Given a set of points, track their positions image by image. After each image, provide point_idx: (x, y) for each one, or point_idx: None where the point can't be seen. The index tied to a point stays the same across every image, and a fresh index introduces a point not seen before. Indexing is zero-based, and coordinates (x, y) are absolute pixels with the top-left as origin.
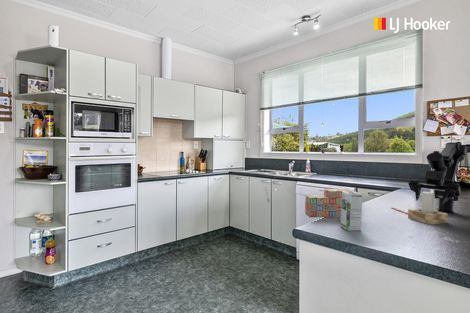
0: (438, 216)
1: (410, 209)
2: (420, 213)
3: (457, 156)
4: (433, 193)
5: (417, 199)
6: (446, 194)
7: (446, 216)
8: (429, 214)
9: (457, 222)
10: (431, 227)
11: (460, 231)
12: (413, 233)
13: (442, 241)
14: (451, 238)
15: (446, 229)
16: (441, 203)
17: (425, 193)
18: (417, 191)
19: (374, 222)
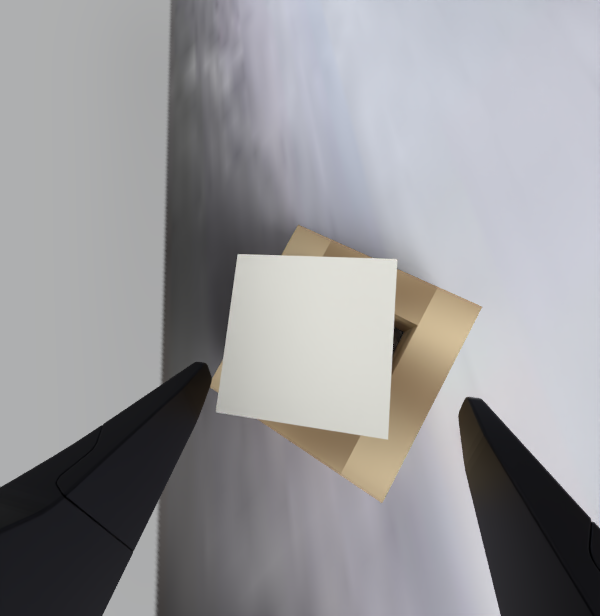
0: None
1: (466, 318)
2: (366, 257)
3: None
4: (227, 355)
5: (464, 414)
6: (65, 460)
7: None
8: (303, 241)
9: (194, 445)
10: (291, 193)
11: (181, 232)
12: (334, 20)
13: (231, 20)
14: (208, 86)
15: (231, 215)
16: (203, 365)
17: (339, 262)
18: (577, 562)
19: (561, 25)
